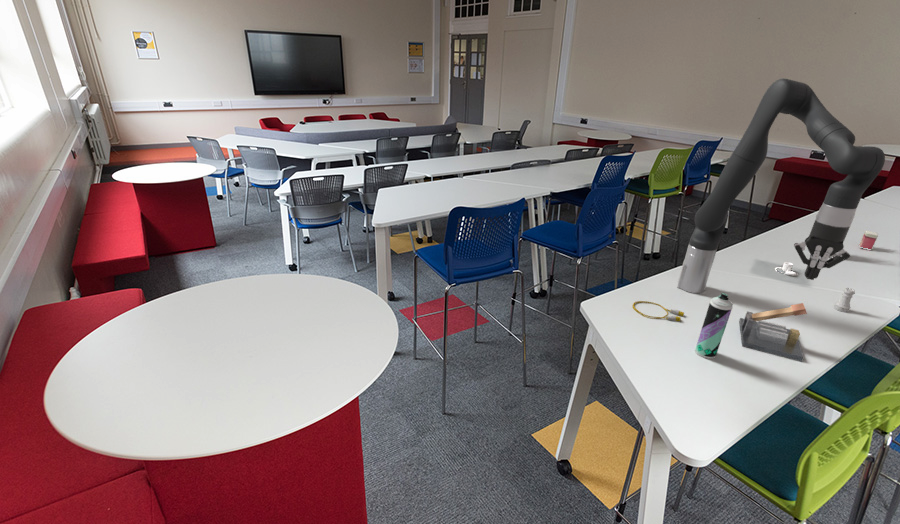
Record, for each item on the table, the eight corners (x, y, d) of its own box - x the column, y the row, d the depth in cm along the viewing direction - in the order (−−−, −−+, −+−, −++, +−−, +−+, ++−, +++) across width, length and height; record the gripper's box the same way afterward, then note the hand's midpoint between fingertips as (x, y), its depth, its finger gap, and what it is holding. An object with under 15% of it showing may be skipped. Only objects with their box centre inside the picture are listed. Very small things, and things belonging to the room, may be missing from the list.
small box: (858, 245, 216) (865, 230, 213) (870, 247, 214) (877, 232, 210) (859, 248, 212) (866, 233, 209) (871, 250, 210) (878, 235, 207)
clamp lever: (748, 324, 138) (746, 318, 137) (747, 318, 141) (745, 313, 141) (807, 314, 129) (805, 309, 129) (804, 308, 132) (803, 303, 132)
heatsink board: (742, 346, 135) (748, 327, 132) (738, 321, 148) (745, 304, 145) (801, 361, 129) (810, 342, 126) (793, 334, 142) (800, 316, 139)
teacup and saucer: (796, 279, 180) (800, 270, 179) (773, 273, 185) (776, 264, 183) (797, 271, 187) (800, 263, 185) (774, 266, 191) (778, 257, 189)
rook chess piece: (845, 307, 159) (855, 287, 156) (851, 313, 155) (861, 293, 152) (831, 305, 160) (839, 285, 157) (836, 311, 156) (845, 291, 153)
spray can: (691, 348, 133) (709, 289, 125) (708, 347, 134) (727, 289, 125) (701, 359, 128) (721, 299, 120) (719, 358, 129) (740, 298, 120)
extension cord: (668, 329, 143) (670, 324, 142) (625, 309, 154) (626, 304, 154) (687, 318, 150) (689, 313, 149) (644, 299, 161) (646, 294, 160)
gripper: (805, 220, 120) (783, 278, 127) (868, 230, 114) (841, 289, 122) (801, 213, 126) (780, 268, 133) (860, 221, 120) (835, 278, 128)
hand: (809, 278), depth 127 cm, fingers closed
